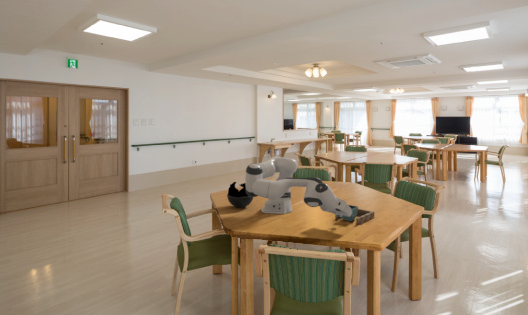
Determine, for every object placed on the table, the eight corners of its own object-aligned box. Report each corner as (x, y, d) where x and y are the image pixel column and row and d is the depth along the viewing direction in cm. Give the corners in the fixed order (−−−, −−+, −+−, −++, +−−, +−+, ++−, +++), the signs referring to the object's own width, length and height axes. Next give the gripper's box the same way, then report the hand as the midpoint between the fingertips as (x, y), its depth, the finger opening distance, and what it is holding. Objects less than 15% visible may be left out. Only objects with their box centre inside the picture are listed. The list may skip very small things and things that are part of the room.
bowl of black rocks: (257, 209, 240) (256, 184, 238) (230, 211, 234) (229, 186, 232) (249, 203, 259) (249, 179, 257) (224, 205, 253) (224, 181, 251)
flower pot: (345, 217, 219) (346, 204, 218) (358, 219, 214) (358, 206, 213) (339, 220, 213) (339, 206, 212) (352, 222, 207) (352, 209, 206)
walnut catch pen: (358, 224, 203) (358, 218, 202) (335, 219, 214) (335, 213, 214) (374, 217, 218) (374, 211, 218) (351, 213, 229) (352, 207, 229)
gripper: (314, 204, 199) (323, 216, 207) (344, 210, 185) (352, 223, 193) (319, 196, 202) (327, 208, 210) (348, 201, 188) (356, 214, 196)
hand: (339, 215), depth 202 cm, fingers closed
